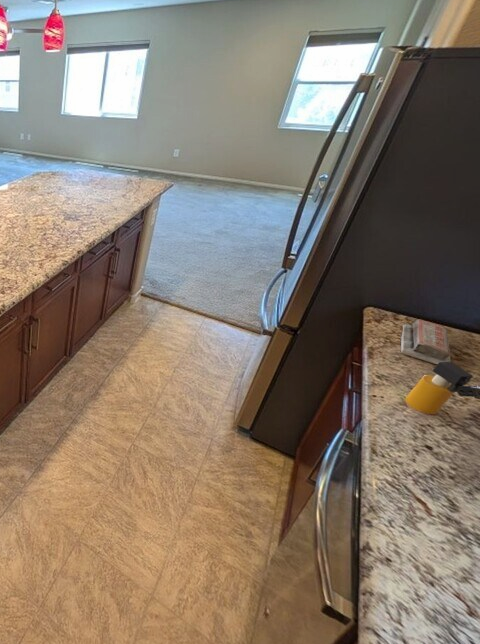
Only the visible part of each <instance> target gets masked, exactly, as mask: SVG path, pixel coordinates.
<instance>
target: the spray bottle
mask: <svg viewBox="0 0 480 644" xmlns="http://www.w3.org/2000/svg"><path fill="white" fill-rule="evenodd" d="M432 372H433V373H434V374H435V375H431V374H425V375H423V376H422V377H421V379H420V380H419V381H418V382H417V384H415V386H414V387H413V389H412V390H411V391H409V394H408V395H406V397H405V402H406V404H407V405H408V406H409V407H411V408H413V410H415V411H418V412H420V413H423V414H426V415H435V414H437V413H438V412H439V410H440V409H441V408H442V407H443V406H444V405H445V404H446V403H447V401H448V400H449V399H450V398H451V397H452V396H453V395H454V394H455V392H450V391H448V390H447V388H448V387H449V386H450V385H451V384H453V385H463V386H467V384H468V383H470V382H471V379H472V378H473V377H474V375H473V374H471V373H470V372H468V371H466V370H465V369H463V368H461V367H460V366H458V365H457V364H455V363H454V362H452V361H451V362H439V363H438V364H436V365H435V367H434V368H433V369H432Z"/></svg>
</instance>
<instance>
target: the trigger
mask: <svg viewBox="0 0 480 644" xmlns="http://www.w3.org/2000/svg"><path fill="white" fill-rule="evenodd" d="M457 386H464V385H453V384H451V385H450V386H449V387H448V388H447V390H448V391H450V392H454V393H458V392H457V389H456V387H457Z"/></svg>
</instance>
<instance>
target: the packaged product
mask: <svg viewBox="0 0 480 644" xmlns="http://www.w3.org/2000/svg"><path fill="white" fill-rule="evenodd" d="M400 346H401V347H400V353H401V354H403V355H406V356H409V357H412V358H416V359H419V360H422V361H424V362H425V361H426V362H428V363H431V364H434V365H437V364H438V363H439V362H452V361H451V350H450V340H449V336H448V329H447V328H446V327H444V326H443V325H441V324H437V323H435V322H434V323H433V322H430V321H427V320H423V319H417V320H415V321H414V322H413V323H412V324H409V323H406V322H404V323H403V325H402V333H401V337H400Z"/></svg>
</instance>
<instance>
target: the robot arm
mask: <svg viewBox="0 0 480 644" xmlns="http://www.w3.org/2000/svg"><path fill="white" fill-rule="evenodd" d="M456 389H457V392H456V393H457V395H458V396H459V397H472V398H474V399H477V400H480V385H475V386H474V385H472V386H471V385H463V386H457V387H456Z"/></svg>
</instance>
